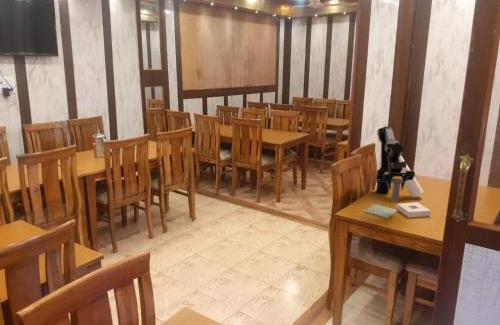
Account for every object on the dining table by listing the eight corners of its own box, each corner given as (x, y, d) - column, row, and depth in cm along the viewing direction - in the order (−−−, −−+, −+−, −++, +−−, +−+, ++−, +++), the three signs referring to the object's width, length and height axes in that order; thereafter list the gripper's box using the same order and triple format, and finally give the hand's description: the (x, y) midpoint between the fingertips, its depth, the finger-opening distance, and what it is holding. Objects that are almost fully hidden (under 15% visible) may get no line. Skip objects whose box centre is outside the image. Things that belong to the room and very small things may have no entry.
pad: (363, 212, 206) (364, 210, 206) (374, 205, 215) (374, 204, 215) (387, 218, 197) (387, 217, 197) (397, 211, 207) (398, 210, 206)
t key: (388, 199, 205) (390, 178, 202) (400, 200, 204) (402, 178, 201) (389, 202, 202) (391, 180, 199) (401, 202, 201) (403, 180, 198)
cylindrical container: (422, 189, 228) (400, 153, 228) (424, 193, 222) (401, 155, 222) (411, 195, 231) (389, 159, 231) (412, 198, 224) (389, 162, 224)
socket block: (396, 208, 210) (396, 203, 209) (416, 207, 211) (417, 202, 211) (408, 217, 198) (408, 212, 197) (429, 216, 200) (430, 210, 199)
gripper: (378, 154, 202) (380, 181, 194) (416, 155, 199) (419, 182, 192) (374, 165, 212) (376, 191, 204) (410, 166, 209) (413, 192, 201)
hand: (396, 189), depth 200 cm, fingers closed on t key, 5 cm apart
